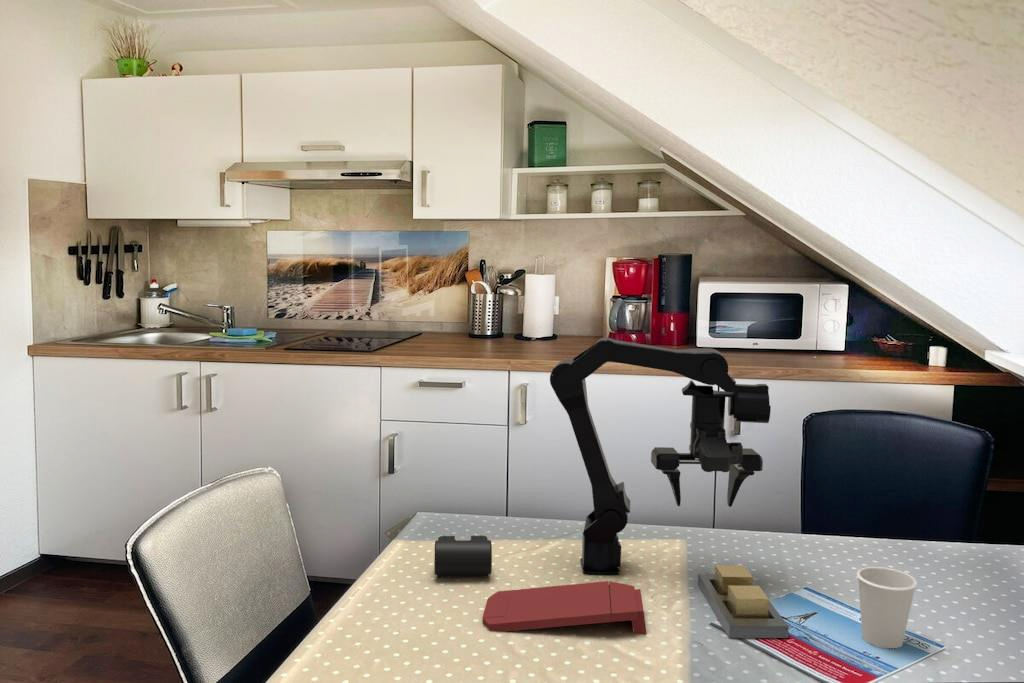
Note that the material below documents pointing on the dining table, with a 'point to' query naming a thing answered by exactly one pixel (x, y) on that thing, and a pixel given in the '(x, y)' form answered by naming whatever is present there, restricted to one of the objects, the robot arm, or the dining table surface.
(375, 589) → the dining table surface
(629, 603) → the red ramp
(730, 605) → the wooden cube
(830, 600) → the dining table surface
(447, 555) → the end cap
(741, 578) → the tan block seated
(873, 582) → the dixie cup
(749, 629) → the grey slotted tray
